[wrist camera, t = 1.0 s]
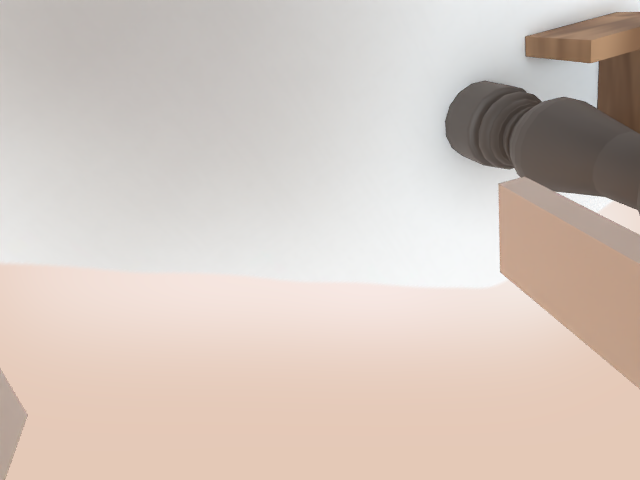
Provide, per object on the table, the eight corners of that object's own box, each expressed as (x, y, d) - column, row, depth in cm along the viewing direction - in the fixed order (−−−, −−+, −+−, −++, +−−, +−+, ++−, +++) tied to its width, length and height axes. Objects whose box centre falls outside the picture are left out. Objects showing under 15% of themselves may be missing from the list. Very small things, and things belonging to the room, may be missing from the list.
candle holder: (518, 138, 44) (878, 260, 22) (454, 169, 44) (761, 325, 22) (505, 68, 41) (903, 127, 19) (437, 100, 41) (768, 198, 19)
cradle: (528, 167, 46) (587, 191, 40) (525, 36, 41) (591, 40, 35) (610, 141, 47) (678, 160, 41) (616, 12, 42) (695, 11, 36)
